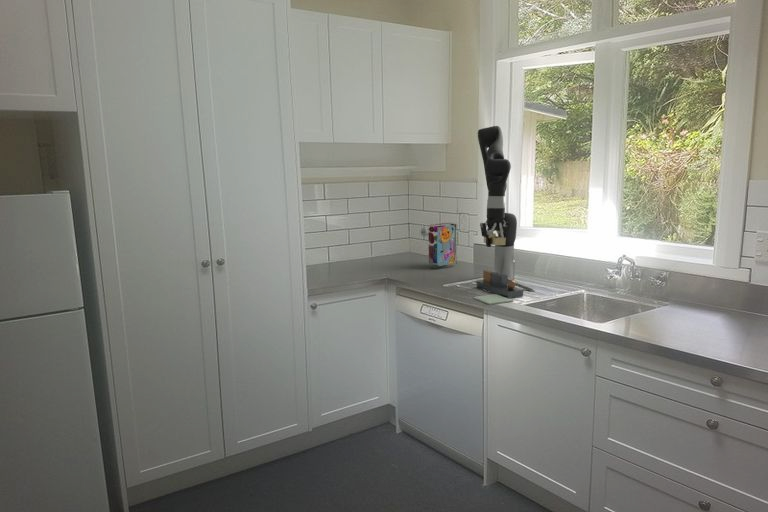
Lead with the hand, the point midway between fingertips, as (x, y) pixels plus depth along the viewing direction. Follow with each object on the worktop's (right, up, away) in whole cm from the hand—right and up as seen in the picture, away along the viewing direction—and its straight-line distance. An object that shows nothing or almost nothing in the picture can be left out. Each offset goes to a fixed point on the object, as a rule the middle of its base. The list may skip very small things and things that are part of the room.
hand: (494, 246), depth 238 cm
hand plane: (+5, -20, +14) cm, 25 cm away
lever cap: (0, +1, 0) cm, 1 cm away
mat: (-1, -23, -1) cm, 23 cm away
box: (-18, -11, +68) cm, 72 cm away
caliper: (+14, -20, +21) cm, 32 cm away
